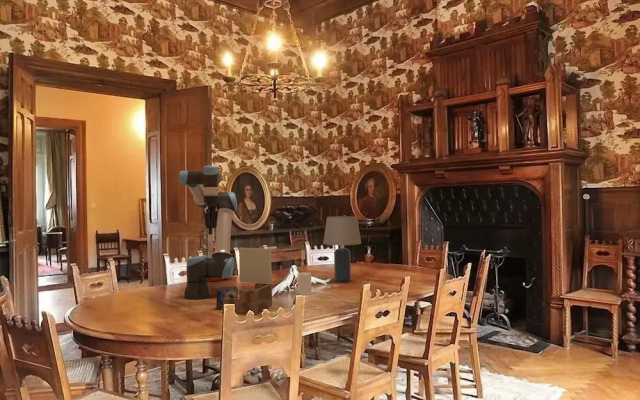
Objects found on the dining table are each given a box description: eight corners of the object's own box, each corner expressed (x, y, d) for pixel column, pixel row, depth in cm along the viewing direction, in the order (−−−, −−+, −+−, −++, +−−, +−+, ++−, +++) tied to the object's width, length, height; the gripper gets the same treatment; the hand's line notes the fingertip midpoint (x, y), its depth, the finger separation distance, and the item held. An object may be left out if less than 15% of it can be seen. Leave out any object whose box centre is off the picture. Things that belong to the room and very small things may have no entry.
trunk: (223, 312, 255) (222, 289, 255) (240, 304, 274) (240, 282, 274) (256, 314, 249) (256, 291, 249) (272, 305, 269) (271, 283, 268)
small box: (217, 310, 261) (216, 289, 260) (216, 307, 267) (215, 287, 267) (238, 308, 263) (237, 288, 263) (236, 305, 270) (236, 286, 270)
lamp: (318, 279, 350) (318, 216, 349) (353, 277, 357) (352, 215, 357) (330, 285, 326) (330, 218, 325) (367, 283, 333) (366, 217, 333)
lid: (239, 248, 272) (240, 247, 274) (239, 281, 273) (240, 281, 274) (270, 248, 267) (271, 248, 269) (270, 283, 267) (272, 282, 269)
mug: (296, 296, 292) (296, 275, 292) (289, 294, 300) (289, 273, 300) (314, 294, 298) (314, 273, 298) (307, 291, 306) (307, 271, 306)
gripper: (211, 195, 259) (211, 241, 260) (223, 195, 272) (223, 239, 272) (198, 195, 262) (198, 241, 262) (210, 195, 274) (211, 239, 274)
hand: (211, 240), depth 267 cm, fingers closed
